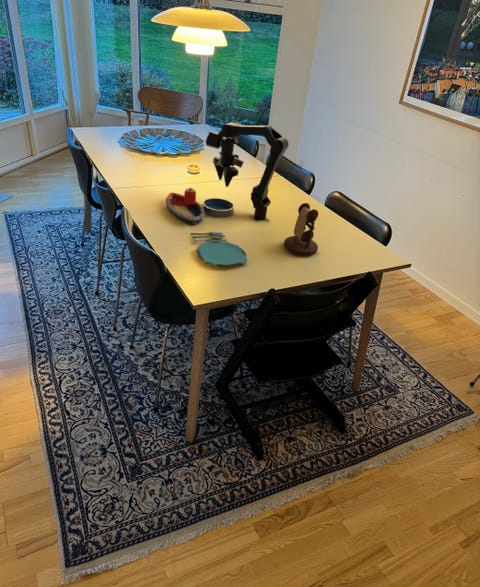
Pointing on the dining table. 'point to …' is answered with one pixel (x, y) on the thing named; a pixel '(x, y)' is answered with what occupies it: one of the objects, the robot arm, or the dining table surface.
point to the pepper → (190, 196)
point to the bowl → (218, 207)
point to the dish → (179, 201)
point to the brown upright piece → (303, 232)
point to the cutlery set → (219, 251)
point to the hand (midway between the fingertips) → (223, 183)
